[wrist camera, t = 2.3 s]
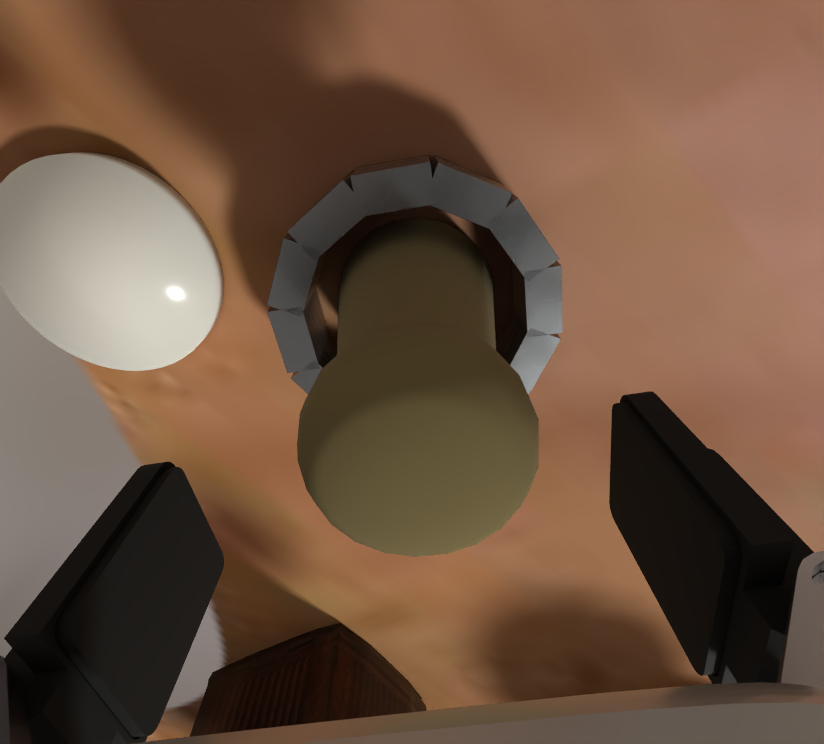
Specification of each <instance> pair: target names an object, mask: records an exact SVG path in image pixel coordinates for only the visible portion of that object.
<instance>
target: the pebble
mask: <svg viewBox="0 0 824 744" xmlns="http://www.w3.org/2000/svg"><path fill="white" fill-rule="evenodd" d="M0 285H1V287H2V289H3V291H4V292H5V294H6V295H7V297H8V298H9V300H10V301H11V303H12V304H13V305H14V307H15V308H16V309H17V310H18V312H19V313H20V314H21V315H22V316H23V317H24V319H25V320H27V322H28V323H29V324H30V325H31V326H32V327H33V328H35V329H36V330H37V331H38V332H39V333H40V334H42V335H43V336H44V337H45V338H47V339H48V340H49V341H51V342H52V343H54V344H55V345H57V346H58V347H60V348H61V349H63V350H65V351H67V352H68V353H70V354H72V355H74V356H76V357H78V358H81V359H83V360H85V361H88V362H91V363H94V364H96V365H100V366H104V367H108V368H112V369H119V370H127V371H142V370H152V369H157V368H161V367H165V366H167V365H170V364H173V363H175V362H177V361H179V360H181V359H182V358H184V357H185V356H187V355H188V354H189V353H191V352H192V351H193V350H194V349H195V348H196V347H197V346H198V345H199V344H200V343H201V342H202V341H203V340H204V338H205V337H206V336H207V335H208V334H209V333H210V331H211V330H212V328H213V327H214V325H215V323H216V321H217V319H218V317H219V314H220V311H221V307H222V304H223V296H224V277H223V270H222V264H221V261H220V257H219V254H218V251H217V248H216V246H215V244H214V241H213V239H212V237H211V235H210V233H209V231H208V230H207V228H206V226H205V224H204V223H203V221H202V220H201V219H200V217H199V216H198V214H197V213H196V212H195V210H194V209H193V208H192V207H191V206H190V205H189V204H188V202H187V201H186V200H185V199H184V198H183V197H182V196H181V195H180V194H179V193H178V192H176V191H175V190H174V189H173V188H172V187H171V186H170V185H168V184H167V183H166V182H164V181H163V180H161V179H160V178H159V177H157V176H156V175H154V174H152V173H151V172H149V171H147V170H146V169H144V168H142V167H140V166H138V165H135V164H133V163H131V162H129V161H126V160H123V159H120V158H117V157H113V156H110V155H105V154H99V153H92V152H74V153H65V154H56V155H48V156H44V157H40V158H37V159H33V160H31V161H29V162H27V163H25V164H23V165H21V166H19V167H18V168H16V169H15V170H14V171H12V172H11V173H10V174H9V175H8V176H7V177H6V178H5V179H4V180H3V181H2V182H1V183H0Z"/></svg>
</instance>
